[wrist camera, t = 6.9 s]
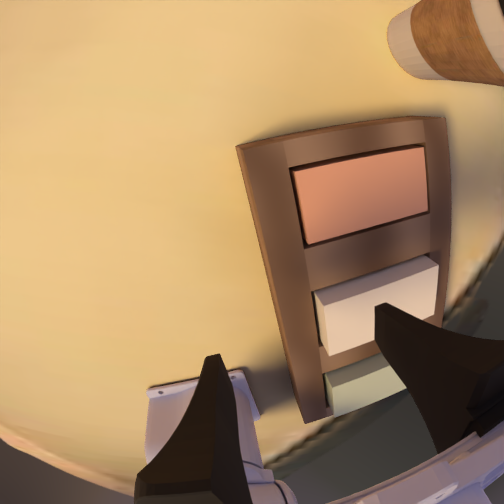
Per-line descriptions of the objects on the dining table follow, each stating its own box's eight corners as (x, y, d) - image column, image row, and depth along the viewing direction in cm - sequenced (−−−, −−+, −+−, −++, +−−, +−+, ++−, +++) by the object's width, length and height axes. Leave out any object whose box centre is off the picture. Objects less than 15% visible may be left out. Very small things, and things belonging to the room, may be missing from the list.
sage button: (320, 386, 27) (334, 417, 23) (316, 355, 25) (332, 387, 22) (402, 354, 28) (422, 380, 24) (406, 322, 26) (428, 347, 22)
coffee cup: (381, -17, 15) (518, -81, 2) (457, 35, 17) (593, 23, 4) (361, 64, 18) (538, 28, 4) (443, 111, 20) (599, 136, 6)
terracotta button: (290, 224, 22) (308, 244, 18) (278, 163, 20) (294, 171, 17) (397, 196, 22) (427, 210, 19) (391, 141, 21) (423, 147, 17)
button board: (294, 394, 29) (304, 424, 25) (235, 146, 19) (242, 150, 16) (413, 349, 30) (432, 372, 26) (412, 115, 20) (445, 117, 16)
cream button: (312, 323, 24) (329, 356, 20) (304, 276, 22) (323, 306, 18) (408, 290, 24) (433, 314, 21) (408, 244, 23) (438, 264, 19)
